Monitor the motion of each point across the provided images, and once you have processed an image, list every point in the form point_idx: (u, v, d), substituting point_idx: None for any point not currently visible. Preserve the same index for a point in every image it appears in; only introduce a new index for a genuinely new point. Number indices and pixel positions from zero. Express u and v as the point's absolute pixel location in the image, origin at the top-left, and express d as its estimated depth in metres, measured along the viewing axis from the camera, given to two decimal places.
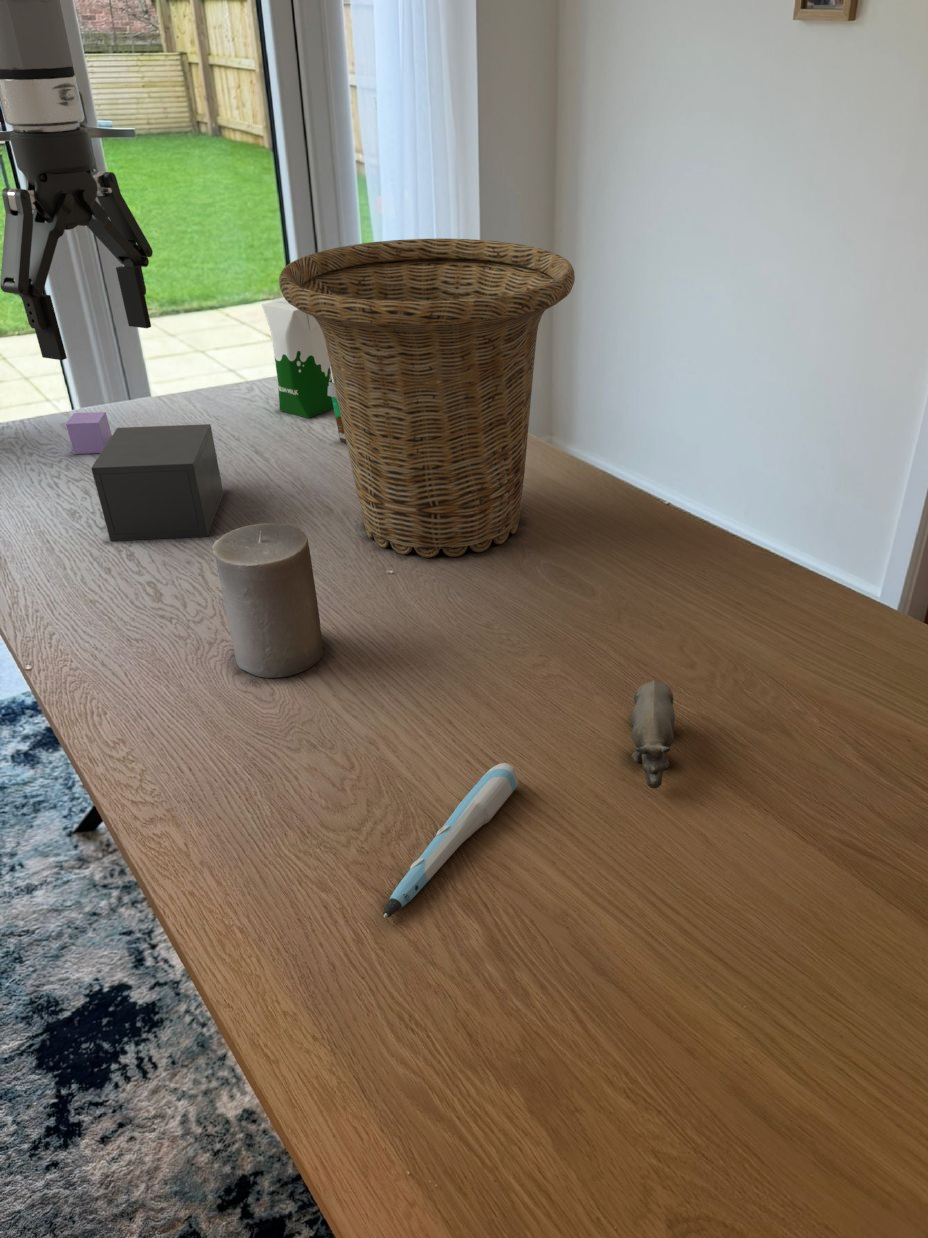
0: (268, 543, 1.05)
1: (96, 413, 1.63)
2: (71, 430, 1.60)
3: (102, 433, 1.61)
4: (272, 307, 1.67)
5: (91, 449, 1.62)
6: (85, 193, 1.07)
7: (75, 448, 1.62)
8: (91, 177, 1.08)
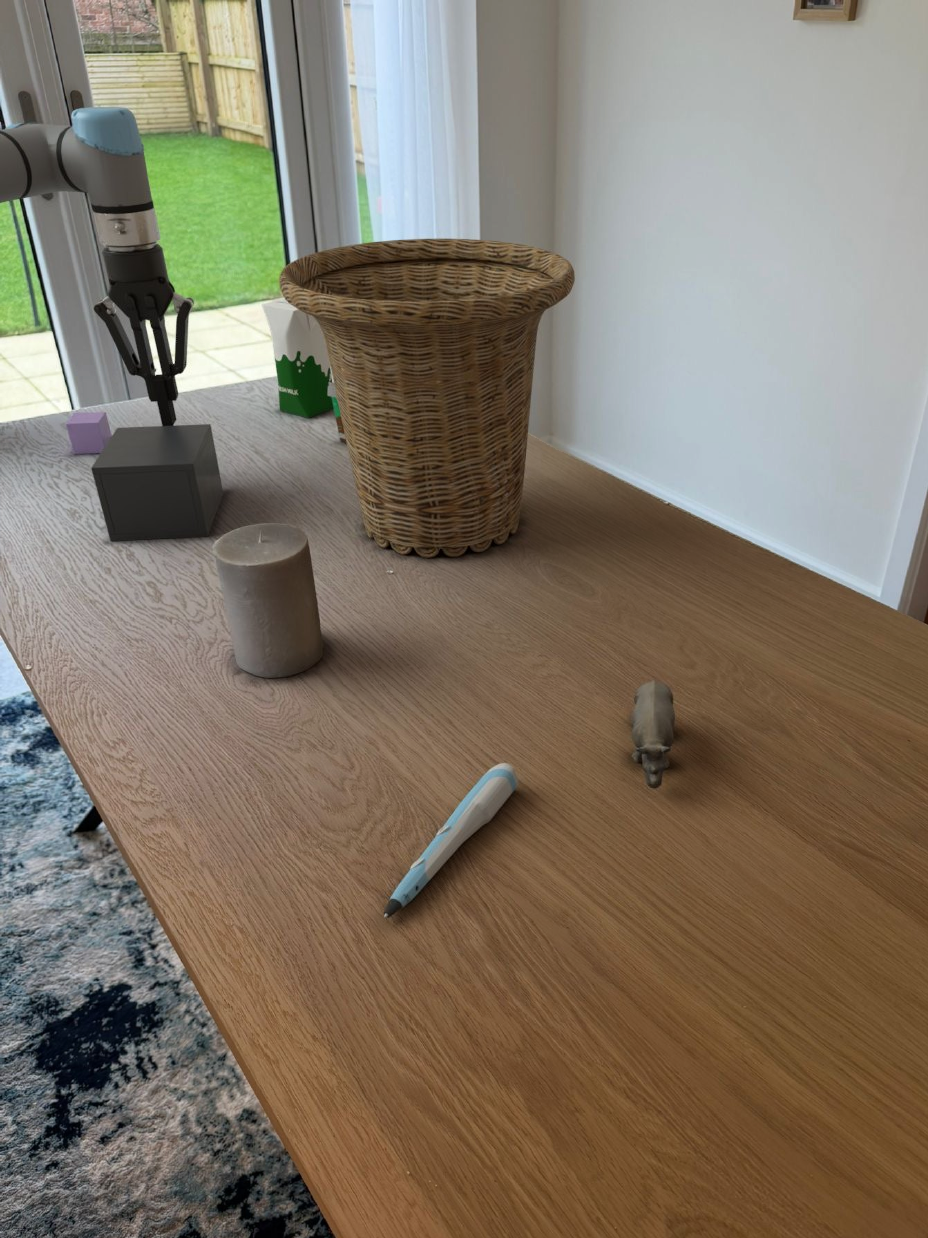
0: (268, 543, 1.05)
1: (96, 413, 1.63)
2: (71, 430, 1.60)
3: (102, 433, 1.61)
4: (272, 307, 1.67)
5: (91, 449, 1.62)
6: (148, 297, 1.35)
7: (75, 448, 1.62)
8: (168, 289, 1.35)
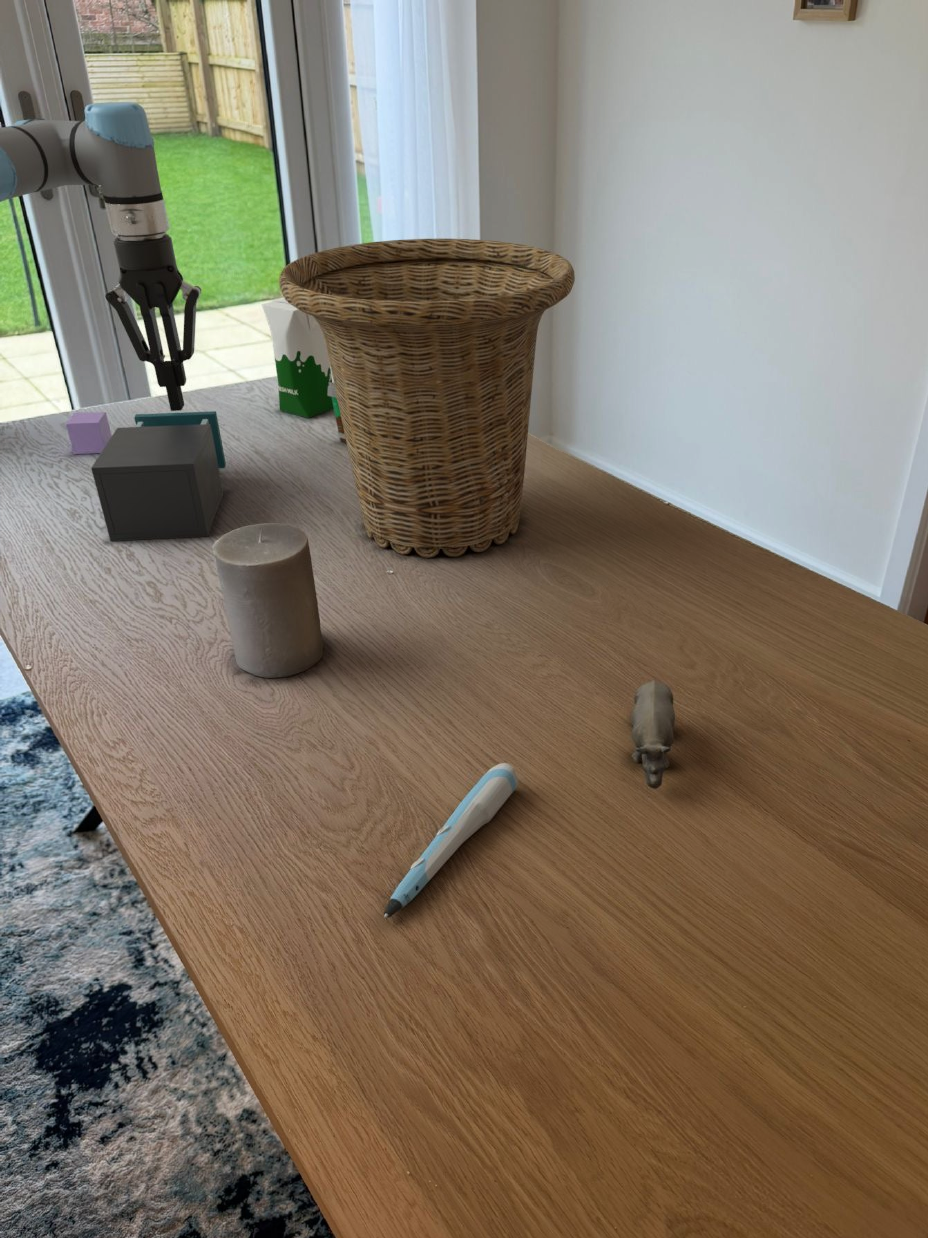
0: (268, 543, 1.05)
1: (96, 413, 1.63)
2: (71, 430, 1.60)
3: (102, 433, 1.61)
4: (272, 307, 1.67)
5: (91, 449, 1.62)
6: (158, 285, 1.40)
7: (75, 448, 1.62)
8: (176, 277, 1.41)
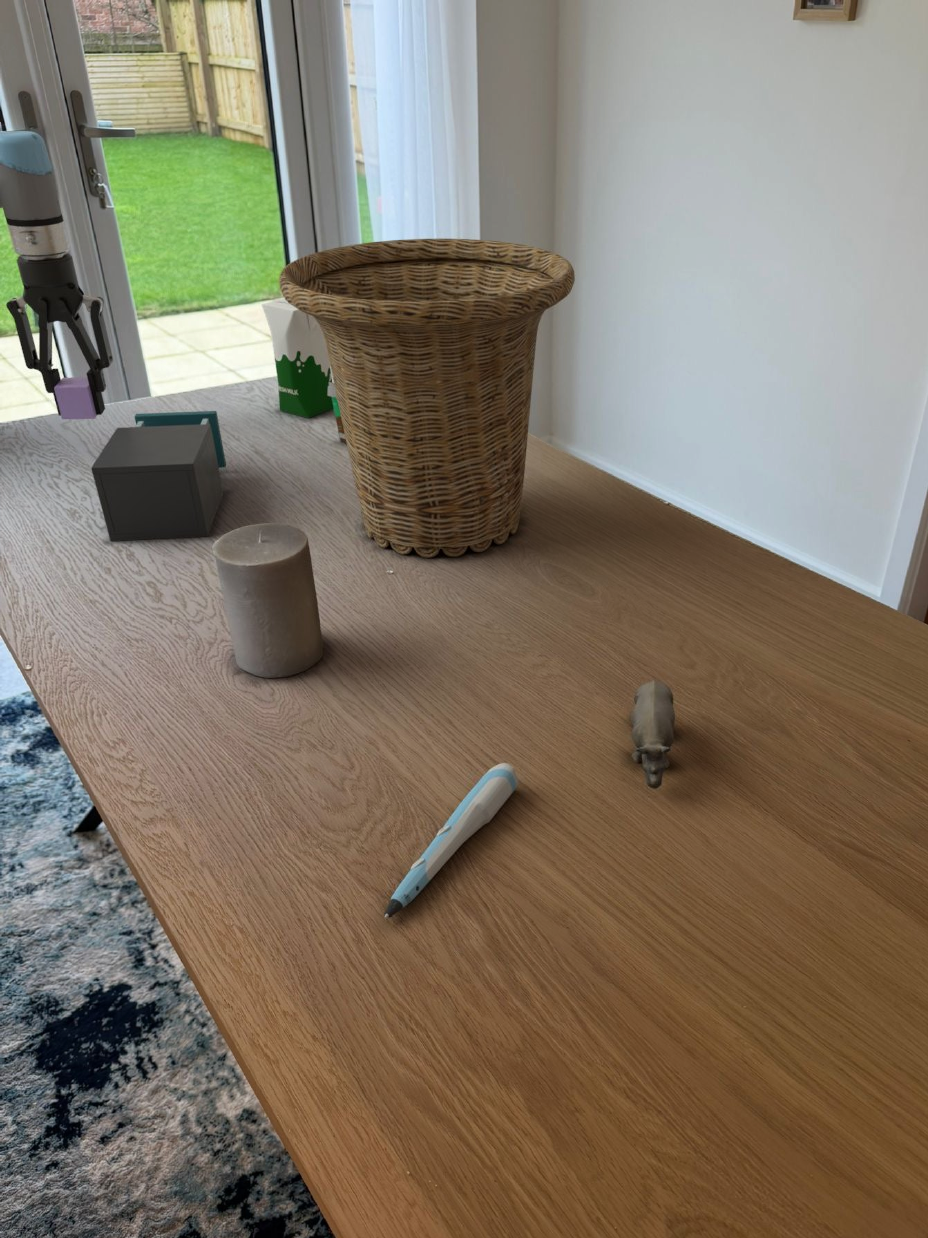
0: (268, 543, 1.05)
1: (85, 378, 1.60)
2: (59, 394, 1.57)
3: (91, 398, 1.58)
4: (272, 307, 1.67)
5: (80, 414, 1.59)
6: (59, 301, 1.50)
7: (64, 413, 1.59)
8: (76, 293, 1.50)
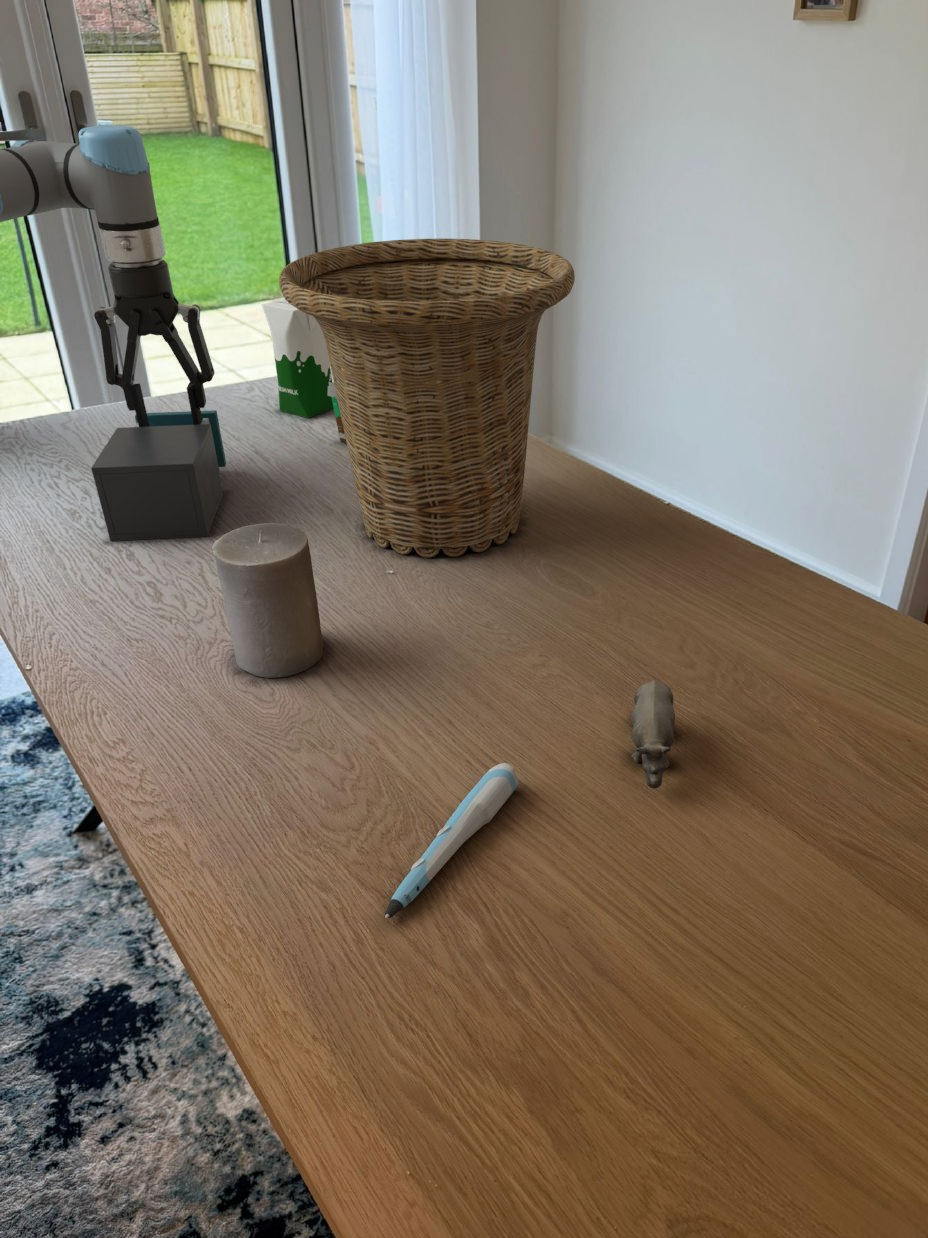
0: (268, 543, 1.05)
1: None
2: None
3: None
4: (272, 307, 1.67)
5: None
6: (153, 312, 1.37)
7: None
8: (171, 302, 1.37)
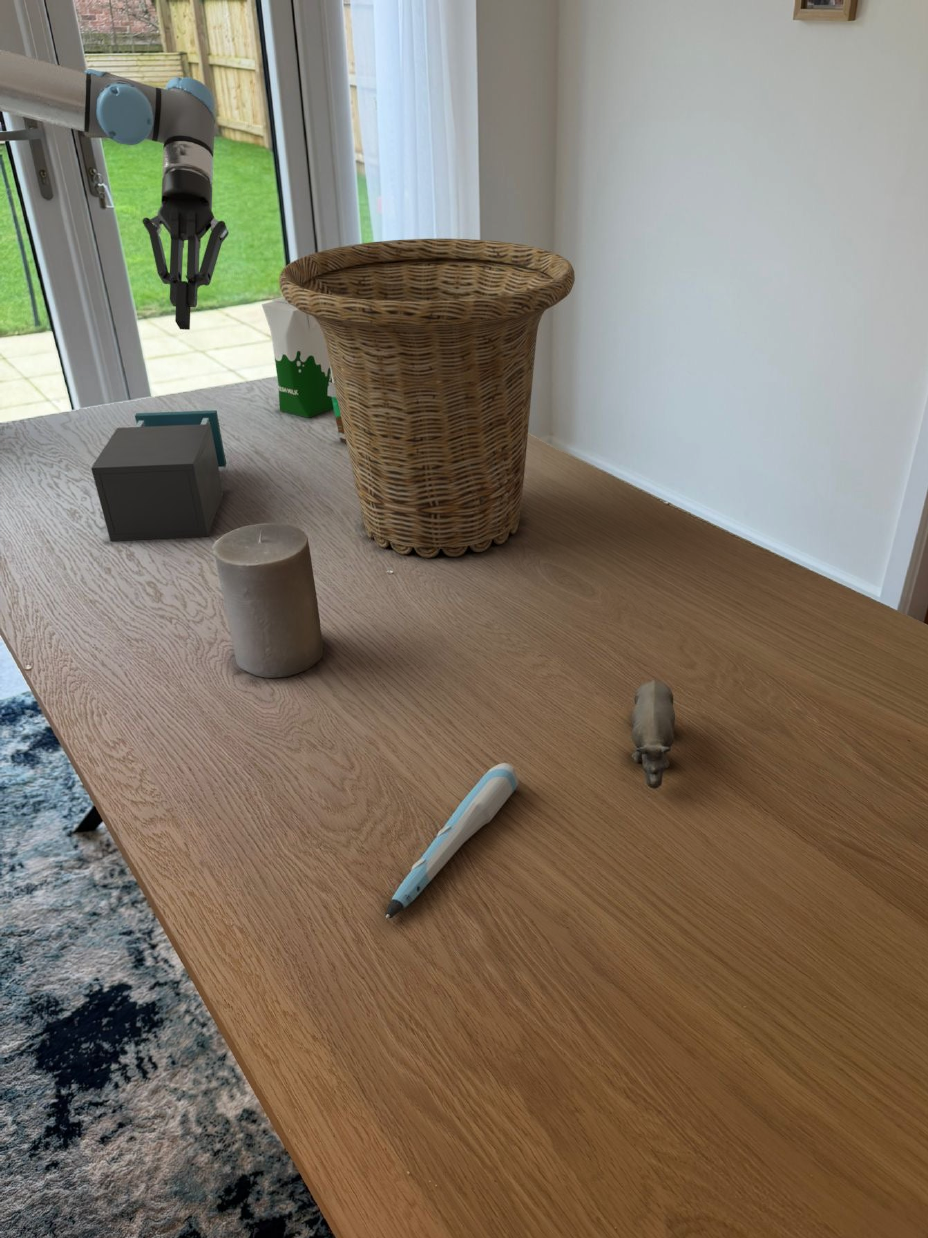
0: (268, 543, 1.05)
1: None
2: None
3: None
4: (272, 307, 1.67)
5: None
6: (191, 211, 1.58)
7: None
8: (209, 210, 1.59)
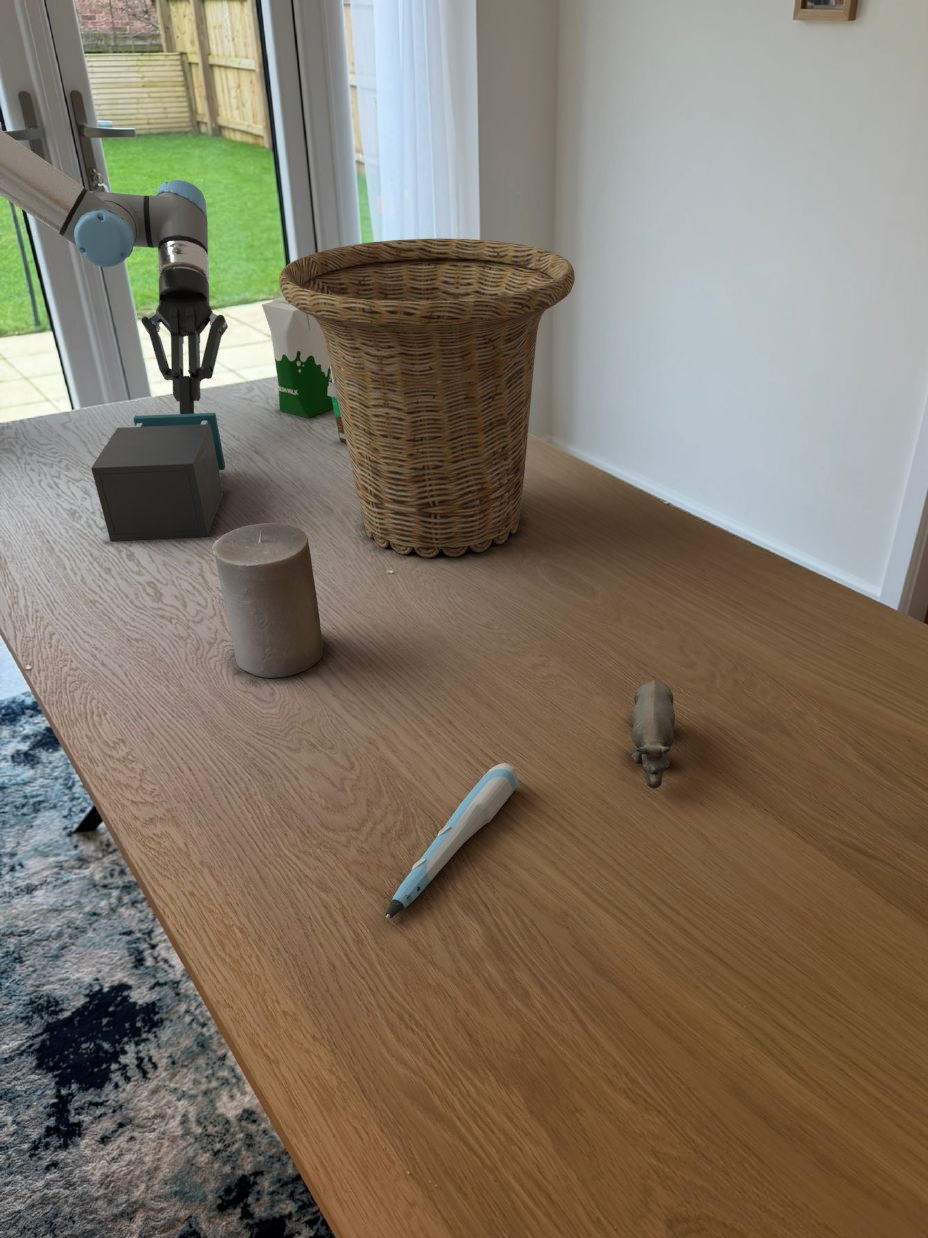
0: (268, 543, 1.05)
1: None
2: None
3: None
4: (272, 307, 1.67)
5: None
6: (190, 307, 1.58)
7: None
8: (207, 305, 1.59)
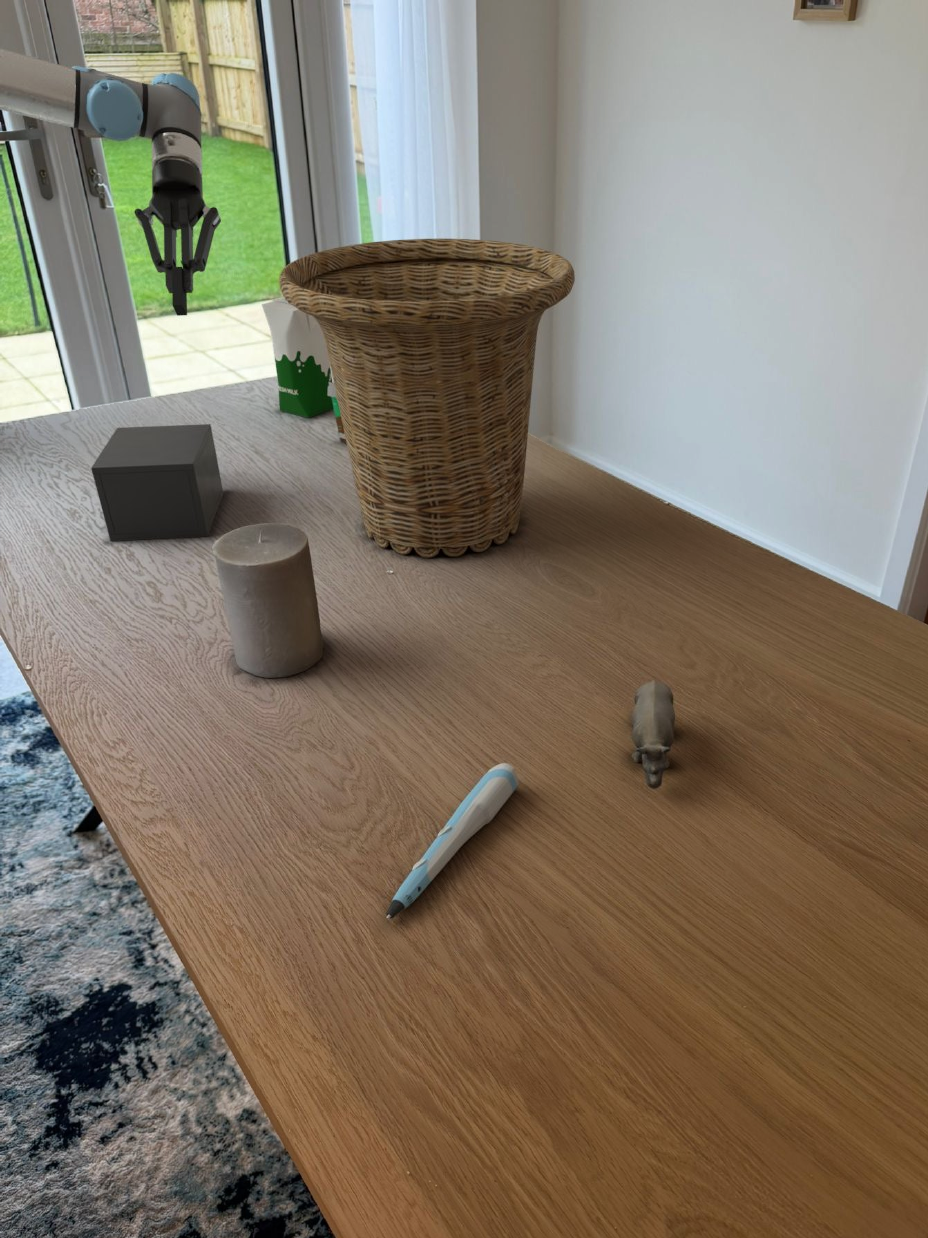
0: (268, 543, 1.05)
1: None
2: None
3: None
4: (272, 307, 1.67)
5: None
6: (183, 199, 1.58)
7: None
8: (200, 198, 1.59)
